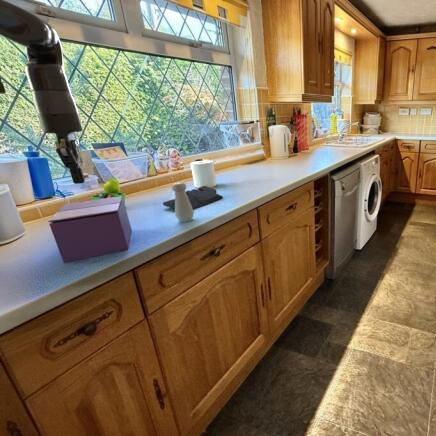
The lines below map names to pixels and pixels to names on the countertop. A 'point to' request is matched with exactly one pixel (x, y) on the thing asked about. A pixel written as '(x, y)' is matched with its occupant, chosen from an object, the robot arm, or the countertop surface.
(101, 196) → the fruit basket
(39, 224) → the countertop surface
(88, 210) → the flap
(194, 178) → the toilet paper
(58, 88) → the robot arm
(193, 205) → the dark slate chunk
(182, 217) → the salt shaker
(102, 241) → the carton
